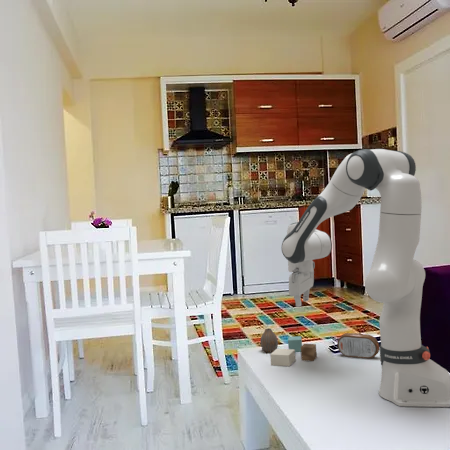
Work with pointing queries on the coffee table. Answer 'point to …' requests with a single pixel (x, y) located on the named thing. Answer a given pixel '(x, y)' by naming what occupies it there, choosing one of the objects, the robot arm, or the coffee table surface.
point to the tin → (358, 345)
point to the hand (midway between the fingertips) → (302, 303)
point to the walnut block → (308, 352)
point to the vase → (269, 341)
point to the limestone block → (282, 357)
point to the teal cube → (295, 343)
